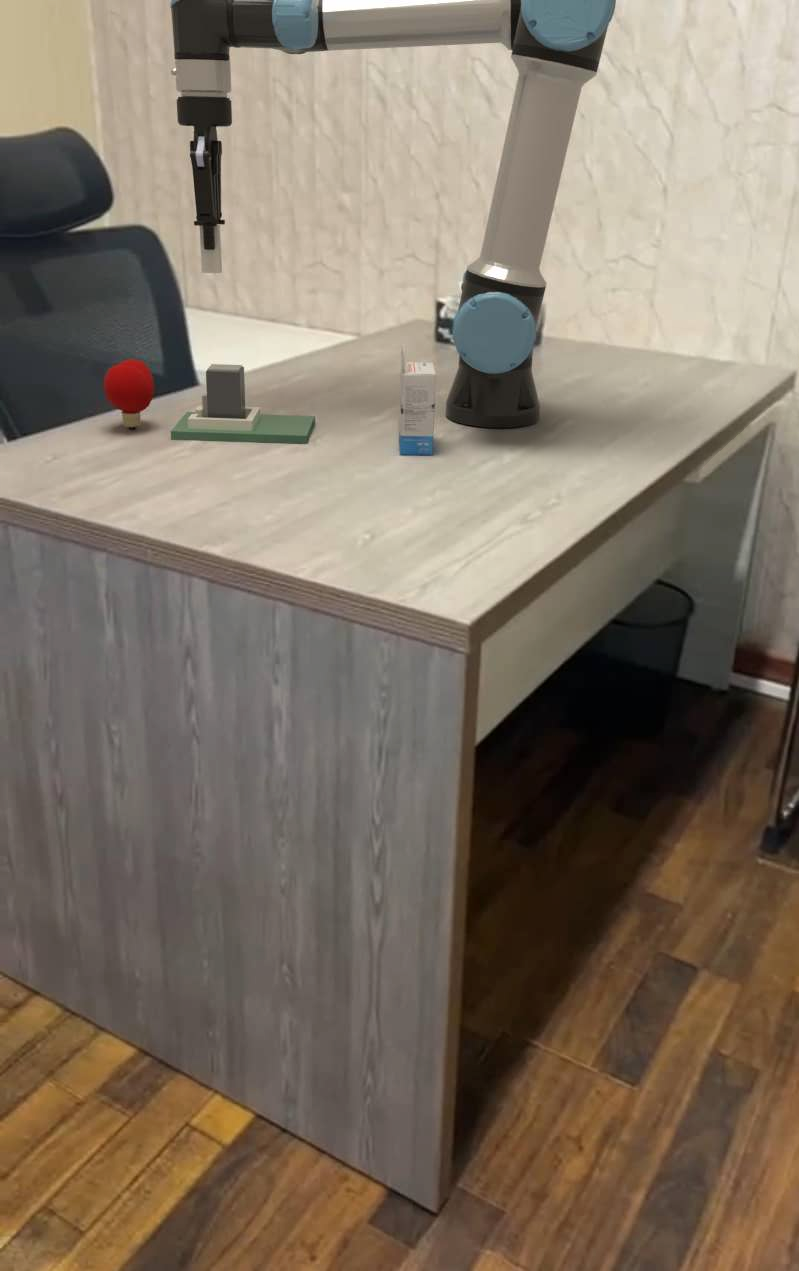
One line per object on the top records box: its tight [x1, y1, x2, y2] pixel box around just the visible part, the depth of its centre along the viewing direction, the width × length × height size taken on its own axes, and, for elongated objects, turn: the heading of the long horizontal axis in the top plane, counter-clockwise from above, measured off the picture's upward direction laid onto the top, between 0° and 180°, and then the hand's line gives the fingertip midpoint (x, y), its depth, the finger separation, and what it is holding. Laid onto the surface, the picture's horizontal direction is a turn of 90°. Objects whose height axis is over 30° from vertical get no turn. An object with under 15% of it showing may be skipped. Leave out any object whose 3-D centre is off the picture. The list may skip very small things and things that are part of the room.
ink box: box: [397, 341, 437, 456], centre depth 167 cm, size 8×5×15 cm, turn 2°
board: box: [170, 404, 316, 445], centre depth 176 cm, size 20×12×3 cm, turn 88°
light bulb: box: [103, 359, 155, 431], centre depth 174 cm, size 9×7×10 cm
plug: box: [201, 363, 246, 419], centre depth 174 cm, size 6×4×8 cm, turn 88°
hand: (211, 272), depth 170 cm, fingers closed
